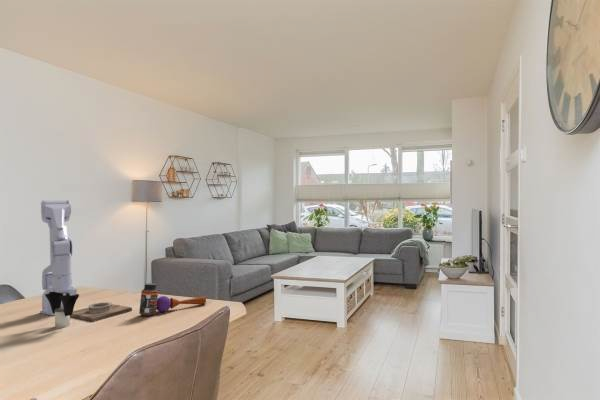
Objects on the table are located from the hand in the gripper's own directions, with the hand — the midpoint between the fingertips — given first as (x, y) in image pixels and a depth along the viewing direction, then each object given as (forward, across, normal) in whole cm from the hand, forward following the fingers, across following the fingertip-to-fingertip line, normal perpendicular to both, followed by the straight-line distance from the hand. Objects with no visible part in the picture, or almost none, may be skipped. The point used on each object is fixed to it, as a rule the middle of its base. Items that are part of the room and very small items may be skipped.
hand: (62, 314), depth 137 cm
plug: (+4, 0, 0) cm, 4 cm away
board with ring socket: (+4, -3, +16) cm, 17 cm away
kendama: (+4, +20, +35) cm, 41 cm away
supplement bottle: (+4, +16, +23) cm, 28 cm away
